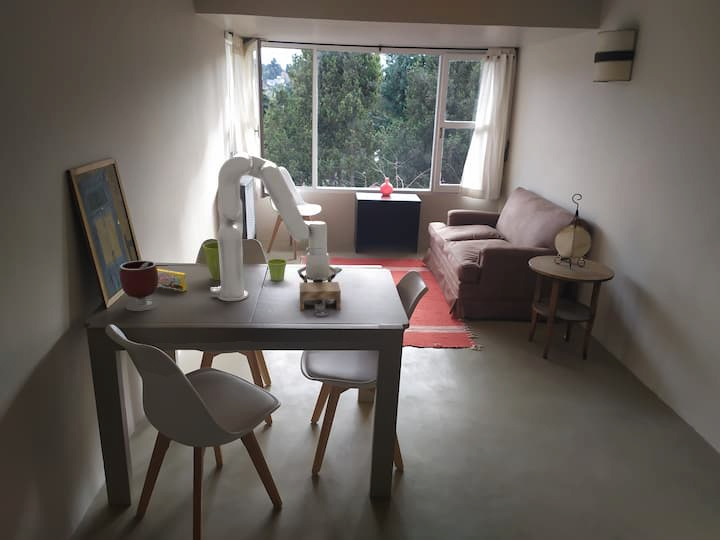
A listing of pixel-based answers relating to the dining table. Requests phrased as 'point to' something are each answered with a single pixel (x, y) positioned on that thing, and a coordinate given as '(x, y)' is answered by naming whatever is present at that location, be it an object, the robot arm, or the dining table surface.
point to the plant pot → (277, 268)
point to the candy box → (171, 279)
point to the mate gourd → (139, 280)
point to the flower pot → (212, 258)
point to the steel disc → (321, 313)
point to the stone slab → (330, 274)
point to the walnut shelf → (320, 292)
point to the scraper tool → (319, 303)
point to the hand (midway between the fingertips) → (317, 288)
